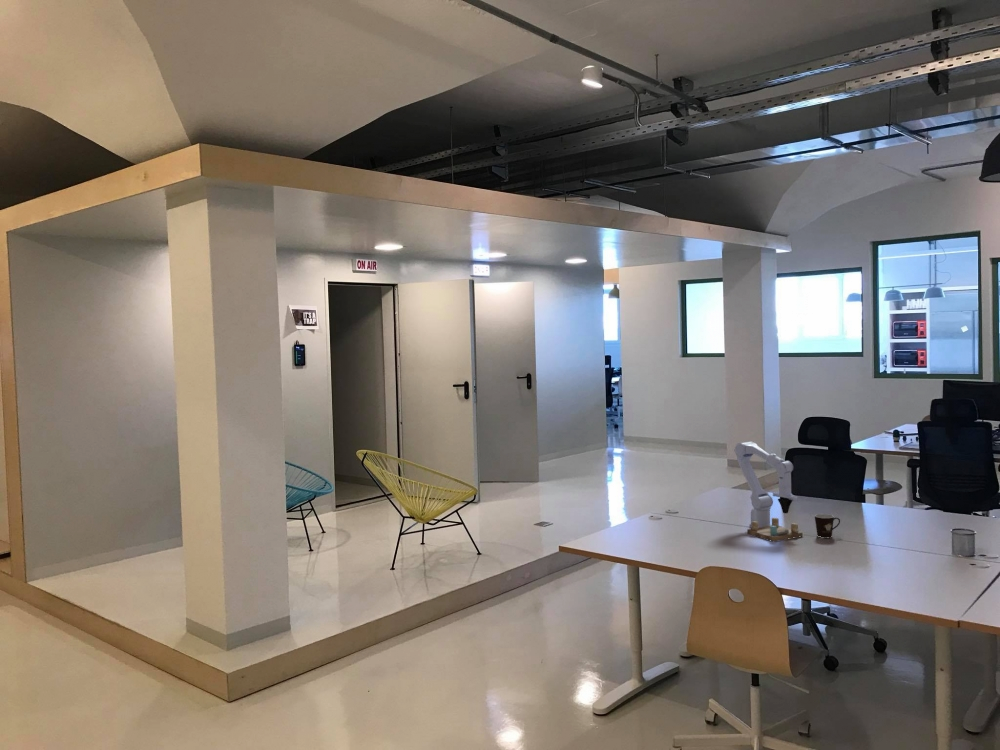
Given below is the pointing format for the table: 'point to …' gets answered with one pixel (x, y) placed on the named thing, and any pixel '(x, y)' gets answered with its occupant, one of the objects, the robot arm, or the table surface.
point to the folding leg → (774, 531)
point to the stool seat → (765, 531)
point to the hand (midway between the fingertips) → (785, 512)
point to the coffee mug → (825, 524)
